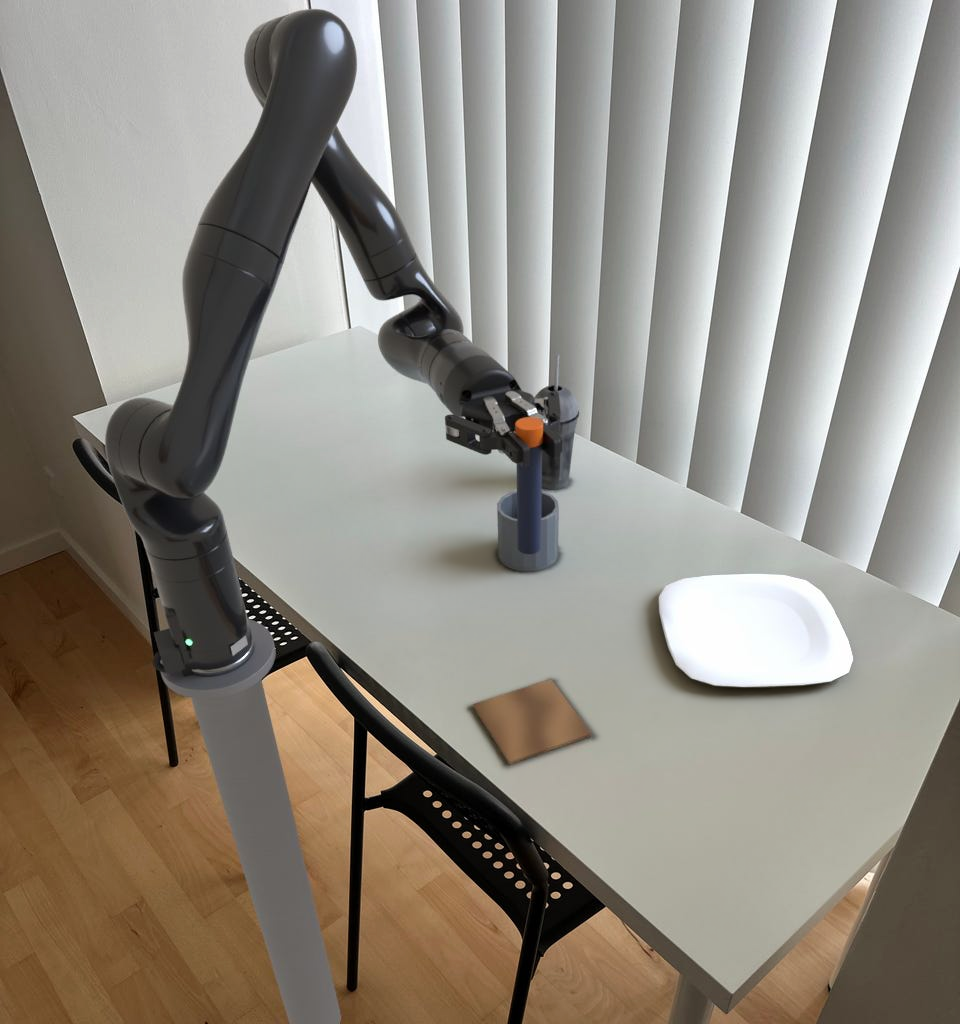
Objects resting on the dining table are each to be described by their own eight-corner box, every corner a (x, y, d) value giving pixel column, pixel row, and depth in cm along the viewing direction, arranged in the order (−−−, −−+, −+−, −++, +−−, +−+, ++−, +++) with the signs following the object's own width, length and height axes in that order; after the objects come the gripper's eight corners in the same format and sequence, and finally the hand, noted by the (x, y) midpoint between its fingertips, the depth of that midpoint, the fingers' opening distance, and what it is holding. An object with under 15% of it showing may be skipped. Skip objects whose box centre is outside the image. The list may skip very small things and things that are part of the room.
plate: (866, 692, 113) (869, 681, 111) (677, 698, 113) (678, 687, 112) (813, 580, 129) (816, 570, 128) (649, 586, 130) (650, 576, 128)
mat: (509, 764, 106) (509, 761, 105) (472, 707, 113) (472, 704, 113) (591, 736, 109) (591, 733, 108) (550, 682, 116) (550, 678, 115)
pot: (513, 577, 132) (512, 527, 127) (489, 546, 138) (487, 498, 133) (567, 562, 134) (569, 512, 129) (541, 532, 140) (541, 484, 135)
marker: (523, 557, 106) (522, 432, 97) (512, 544, 108) (510, 420, 99) (546, 551, 107) (548, 426, 97) (535, 538, 109) (535, 414, 99)
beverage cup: (523, 490, 149) (523, 366, 137) (537, 467, 155) (537, 345, 142) (570, 496, 147) (573, 371, 135) (582, 473, 153) (586, 350, 140)
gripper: (412, 367, 105) (476, 435, 93) (529, 342, 109) (606, 404, 97) (417, 430, 110) (479, 503, 98) (529, 404, 114) (602, 471, 102)
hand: (542, 453), depth 97 cm, fingers closed on marker, 3 cm apart
